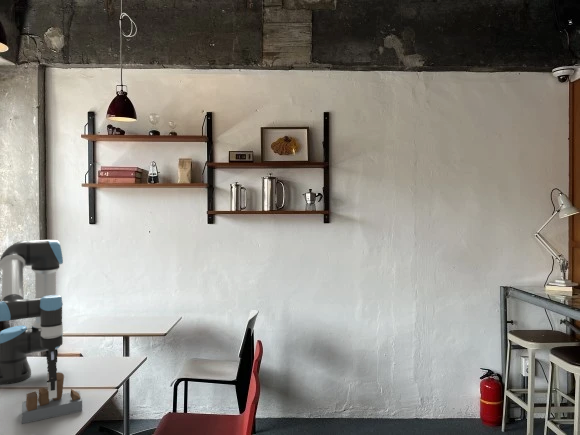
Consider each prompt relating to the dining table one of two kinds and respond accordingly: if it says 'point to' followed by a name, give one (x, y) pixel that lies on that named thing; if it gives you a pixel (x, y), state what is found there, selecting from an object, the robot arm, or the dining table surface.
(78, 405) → the grey rectangular slab
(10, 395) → the dining table surface
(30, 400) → the wooden block set
